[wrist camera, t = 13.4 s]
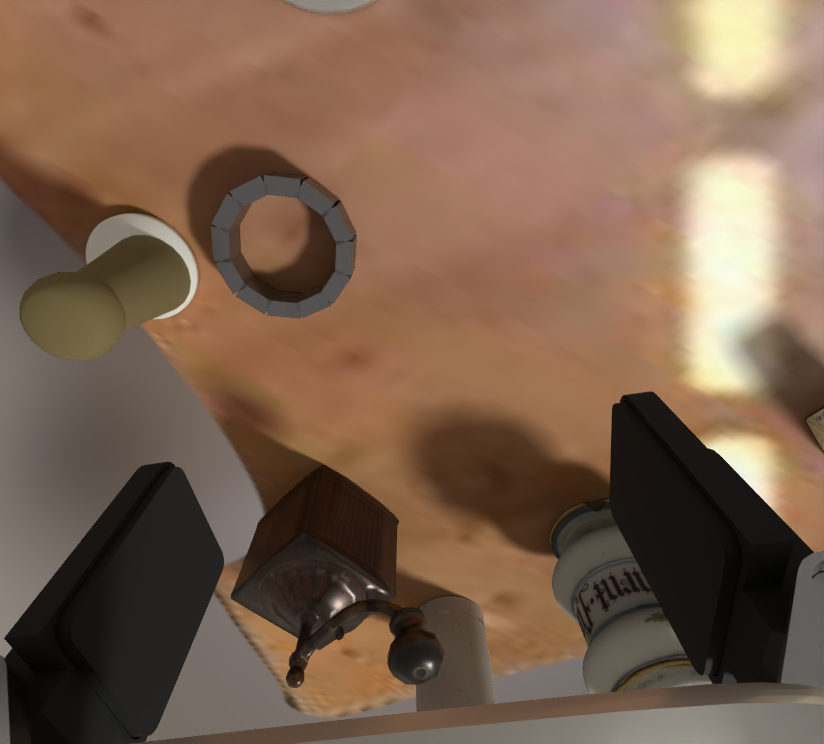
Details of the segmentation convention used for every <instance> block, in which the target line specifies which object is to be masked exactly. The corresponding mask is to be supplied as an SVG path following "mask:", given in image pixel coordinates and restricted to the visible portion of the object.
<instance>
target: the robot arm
mask: <svg viewBox="0 0 824 744" xmlns="http://www.w3.org/2000/svg"><path fill="white" fill-rule="evenodd" d="M281 1H283V2H285V3H287V4H289V5H291V6H293V7H295V8H297V9H299V10H303V11H307V12H311V13H315V14H319V15H341V14H345V13H350V12H354V11H358V10H360V9H362V8H364V7H366V6H368V5H371V4H373V3H375V2H376V1H377V0H281ZM609 501H610V509H611V513H612V516H613V519H614V521H615V523H616V524H617V526H618V528H619V530H620V532H621V534H622V536H623V538H624V539H625V541H626V543H627V545H628V547H629V549H630V551H631V552H632V554H633V556H634V558H635V560H636V562H637V564H638V566H639V567H640V569H641V571H642V573H643V575H644V577H645V579H646V580H647V582H648V584H649V586H650V588H651V590H652V592H653V593H654V595H655V597H656V599H657V601H658V603H659V605H660V607H661V608H662V610H663V612H664V614H665V616H666V618H667V620H668V621H669V623H670V625H671V627H672V629H673V631H674V633H675V635H676V636H677V638H678V640H679V642H680V644H681V646H682V648H683V649H684V651H685V653H686V655H687V657H688V659H689V661H690V663H691V664H692V666H693V668H694V669H695V671H696V672H697V673H698V674H699V675H701V676H702V675H708V677H709V679H710V680H711V682H712V684H703V685H691V686H679V687H667V688H655V689H643V690H631V691H619V692H607V693H596V694H586V695H576V696H568V697H557V698H547V699H537V700H528V701H518V702H508V703H498V704H488V705H478V706H469V707H459V708H449V709H439V710H430V711H421V712H411V713H402V714H393V715H384V716H375V717H365V718H356V719H346V720H337V721H328V722H318V723H309V724H300V725H291V726H282V727H272V728H264V729H254V730H245V731H237V732H228V733H220V734H210V735H202V736H193V737H184V738H175V739H167V740H158V741H149V742H145V741H146V739H147V736H149V735H151V734H152V733H153V732H154V731H155V730H156V728H157V726H158V724H159V722H160V720H161V717H162V715H163V712H164V710H165V708H166V705H167V703H168V700H169V698H170V696H171V693H172V691H173V688H174V686H175V684H176V681H177V679H178V676H179V674H180V672H181V669H182V667H183V664H184V662H185V660H186V657H187V655H188V652H189V650H190V648H191V645H192V642H193V640H194V638H195V636H196V633H197V631H198V628H199V626H200V623H201V621H202V619H203V616H204V614H205V611H206V609H207V607H208V604H209V602H210V599H211V597H212V595H213V592H214V590H215V587H216V585H217V583H218V580H219V578H220V575H221V573H222V570H223V566H224V557H223V553H222V551H221V549H220V546H219V545H218V542H217V540H216V538H215V536H214V534H213V532H212V530H211V528H210V526H209V523H208V522H207V519H206V517H205V515H204V513H203V511H202V509H201V507H200V505H199V503H198V501H197V498H196V496H195V494H194V492H193V490H192V488H191V486H190V484H189V482H188V480H187V478H186V475H185V473H184V472H183V470H182V469H181V468H179V467H175V465H174V464H172V463H171V462H163V463H156V464H149V465H144V466H141V467H140V468H138V469H137V471H136V472H135V473H134V474H133V476H132V477H131V478H130V480H129V481H128V482H127V483H126V485H125V486H124V487H123V488H122V490H121V491H120V492H119V493H118V495H117V496H116V497H115V498H114V500H113V501H112V502H111V504H110V505H109V506H108V507H107V509H106V510H105V511H104V512H103V514H102V515H101V516H100V518H99V519H98V520H97V521H96V523H95V524H94V525H93V526H92V528H91V529H90V530H89V531H88V533H87V534H86V535H85V536H84V538H83V539H82V540H81V542H80V543H79V544H78V545H77V547H76V548H75V549H74V550H73V552H72V553H71V554H70V555H69V557H68V558H67V559H66V561H65V562H64V563H63V564H62V566H61V567H60V568H59V569H58V571H57V572H56V573H55V574H54V576H53V577H52V578H51V580H50V581H49V582H48V583H47V585H46V586H45V587H44V589H43V590H42V591H41V592H40V593H39V595H38V596H37V597H36V599H35V600H34V601H33V602H32V604H31V605H30V606H29V607H28V609H27V610H26V611H25V613H24V614H23V615H22V616H21V618H20V619H19V620H18V621H17V623H16V624H15V625H14V627H13V628H12V629H11V630H10V632H9V633H8V634H7V635H6V637H5V638H4V639H5V640H6V641H7V642H8V643H9V644H10V646H11V647H12V649H11V651H10V652H9V653H8V655H7V656H6V657H5V658H4V657H2V656H0V744H824V551H821V552H816V553H814V552H813V551H812V550H811V549H810V548H809V547H808V546H807V545H806V544H805V543H804V542H803V541H802V540H801V538H800V537H799V536H798V535H797V534H796V533H795V532H794V531H793V530H792V529H791V528H790V527H789V526H788V525H787V524H786V523H785V522H784V521H783V520H782V519H781V518H780V517H779V516H778V515H777V514H776V513H775V512H774V511H773V510H772V509H771V507H770V506H769V505H768V504H767V503H766V502H765V501H764V500H763V499H762V498H761V497H760V496H759V495H758V494H757V493H756V492H755V491H754V490H753V489H752V488H751V487H750V486H749V485H748V484H747V483H746V482H745V481H744V480H743V479H742V478H741V477H740V475H739V474H738V473H737V472H736V471H735V470H734V469H733V468H732V467H731V466H730V465H729V464H728V463H727V462H726V461H725V460H724V459H723V458H722V457H721V456H720V455H719V454H718V453H716V452H715V451H714V450H711V449H708V448H707V447H706V446H705V445H704V444H703V443H702V442H701V441H700V440H699V439H698V438H697V437H696V436H695V435H694V434H693V433H692V432H691V431H690V430H689V429H688V427H687V426H686V425H685V424H684V423H683V422H682V421H681V420H680V419H679V418H678V417H677V416H676V415H675V414H674V413H673V412H672V411H671V410H670V409H669V407H668V406H667V405H666V404H665V403H664V402H663V401H662V400H661V399H660V398H659V397H658V396H657V395H656V394H655V393H654V392H643V393H636V394H629V395H623V396H622V397H621V400H620V403H616V404H614V405H613V407H612V430H611V465H610V499H609Z"/></svg>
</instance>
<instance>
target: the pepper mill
mask: <svg viewBox="0 0 824 744" xmlns="http://www.w3.org/2000/svg"><path fill="white" fill-rule="evenodd" d="M398 523H399V520H398V519H397V518H396V517H395V516H394V515H393V514H392V513H391V512H390V511H389V510H388V509H387V508H386V507H385V506H384V505H382V504H381V503H380V502H379V501H377V500H376V499H375V498H373V497H372V496H371V495H369V494H368V493H367V492H365V491H364V490H363V489H361V488H360V487H359V486H357V485H356V484H354V483H353V482H352V481H350V480H349V479H348V478H346V477H344V476H342V475H341V474H339V473H337V472H335V471H334V470H332V469H330V468H328V467H326V466H325V465H323V466H321V467H319V468H318V469H316V470H314V471H313V472H311V473H310V474H309V475H308V476H306V477H305V478H304V479H303V480H302V481H301V482H299V483H298V484H297V485H296V486H295V487H294V488H293V489H292V490H291V491H290V492H288V493H287V494H286V495H285V496H284V497H283V498H282V499H281V500H280V501H279V502H278V503H277V504H276V505H275V506H274V507H273V508H272V509H271V510H270V511H269V512H268V513H267V514H266V515H265V516H264V517H263V518H262V519H261V520H260V521H259V523H258V525H257V529H256V531H255V534H254V537H253V540H252V542H251V545H250V548H249V550H248V553H247V555H246V558H245V560H244V563H243V566H242V568H241V571H240V574H239V576H238V579H237V581H236V584H235V587H234V589H233V591H232V593H231V599H233V600H234V601H236V602H238V603H239V604H241V605H242V606H244V607H245V608H247V609H249V610H250V611H252V612H254V613H256V614H257V615H259V616H261V617H263V618H264V619H266V620H268V621H269V622H271V623H273V624H275V625H276V626H278V627H280V628H282V629H283V630H285V631H287V632H288V633H290V634H292V635H293V636H295V637H297V638H298V642H297V646H296V650H295V652H293V653H292V654H291V656H290V658H289V666H290V670H289V671H288V673H287V676H286V680H287V683H288V685H289V686H290V687H292V688H298V687H299V686H300V685H301V684H302V683H303V682H304V670H305V668H306V666H307V663H308V660H309V658H310V656H311V655H312V654H313V652H314V651H315V650H316V649H318V650H320V649H322V648H323V647H325V646H326V645H328V644H329V643H331V642H333V641H334V640H336V639H337V640H341V639H342V638H343V637H344V634H346V633H348V632H351V631H352V630H354V629H355V628H356V627H357V626H359V625H360V624H361V623H362V622H363V620H364V619H366V618H367V617H369V616H370V615H372V614H373V613H380V614H383V615H385V616H387V617H390V618H391V621H390V624H389V627H390V632H391V633H392V634H393V635H394V637H395V639H394V641H393V642H392V643H391V646H390V649H389V652H388V667H389V670H390V671H391V673H392V674H393V676H394V677H396V678H397V679H399V680H400V681H402V682H403V683H405V684H410V685H421V684H423V683H425V682H427V681H429V680H430V679H432V678H434V677H436V676H438V672H439V669H440V666H441V663H442V660H443V657H444V653H445V651H444V649H443V646H442V644H441V642H440V641H439V639H438V638H437V636H436V635H435V633H433V632H430V631H428V630H427V629H426V624H427V618H426V617H425V615H424V613H423V611H422V610H419V609H416V608H414V607H406V608H401V607H400V606H397V605H395V604H392V603H390V601H391V600H392V599H394V598H395V595H396V552H397V525H398Z"/></svg>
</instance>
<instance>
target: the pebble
mask: <svg viewBox="0 0 824 744" xmlns="http://www.w3.org/2000/svg"><path fill="white" fill-rule="evenodd" d="M133 235H148V236H152V237H155V238H158V239H161V240H162V241H164V242H166V243H167V244H169V245H170V246H172V247H173V248H174V249H175V250H176V251H177V252H178V253H179V254H180V255H181V257H182V258H183V260H184V262H185V263H186V265H187V267H188V269H189V274H190V279H191V286H190V293H189V295H188V297H187V298H186V300H185V302H184V303H183V304H182V305H180V306H179V307H178V308H177V309H175V310H173V311H170V312H168V313H166V314H163V315H161V316H158V317H156V318H154V319H162V318H167V317H170V316H173V315H175V314H176V313H178V312H180V311H181V310H182V309H183V308H185V307H186V306H187V305H188V304H189V303H190V302H191V301H192V299H193V298H194V296H195V294H196V292H197V289H198V286H199V267H198V263H197V259H196V257H195V254H194V252H193V250H192V249H191V247H190V245H189V244H188V242H187V241H186V240H185V238H184V237H183V236H182V235H181V234H180V233H179V232H178V231H177V230H176V229H175V228H173V227H172V226H170V225H169V224H168V223H166V222H164V221H162V220H161V219H158V218H156V217H154V216H150V215H147V214H142V213H124V214H120V215H116V216H113V217H110V218H108V219H106V220H104V221H103V222H101V223H100V224H99V225H98V226H96V227H95V229H94V230H93V231H92V233H91V235H90V237H89V239H88V242H87V246H86V262H87V264H89V263H90V262H91V261H93V260H94V259H96V258H97V257H99V256H100V255H101V254H103V253H104V252H106V251H107V250H108V249H110V248H111V247H113V246H114V245H115V244H117V243H118V242H120V241H121V240H122V239H125V238H127V237H130V236H133Z"/></svg>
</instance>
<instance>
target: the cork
mask: <svg viewBox="0 0 824 744" xmlns="http://www.w3.org/2000/svg"><path fill="white" fill-rule="evenodd" d="M190 286H191V279H190V274H189V269H188V267H187V265H186V263H185V262H184V260H183V258H182V257H181V255H180V254H179V253H178V252H177V251H176V250H175V249H174V248H173V247H172V246H170V245H169V244H167V243H166V242H164V241H162V240H161V239H158V238H155V237H152V236H148V235H133V236H130V237H127V238H125V239H122V240H121V241H120V242H118V243H117V244H115V245H114V246H113V247H111V248H110V249H108V250H107V251H106V252H104V253H103V254H101V255H100V256H99V257H97V258H96V259H94V260H93V261H91V262H90V263H89V264H87V265H86V266H84V267H83V268H82V269H80V270H79V271H77V272H57V273H55V274H52V275H49V276H46V277H43V278H41V279H38V280H37V281H36V282H35V283H34V284H33V285H32V286H31V287H29V289H27V290H26V291H25V292H24V295H23V297H22V300H21V302H20V320H21V323H22V326H23V328H24V330H25V332H26V333H27V335H28V336H29V337H30V339H31V340H32V341H33V342H34V343H35V344H36V345H37V346H39V347H40V348H41V349H42V350H44V351H46V352H48V353H49V354H51V355H53V356H56V357H60V358H63V359H67V360H89V359H92V358H95V357H98V356H101V355H104V354H105V353H107V352H108V351H109V350H110V349H112V348H113V347H114V346H115V345H116V344H118V342H119V340H120V339H121V337H122V335H123V333H124V331H125V330H128V329H130V328H133V327H135V326H137V325H140V324H142V323H144V322H147V321H149V320H151V319H154V318H156V317H158V316H161V315H163V314H166V313H168V312H170V311H173V310H175V309H177V308H178V307H179V306H180V305H182V304H183V303H184V302H185V300H186V298H187V297H188V295H189V293H190Z"/></svg>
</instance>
